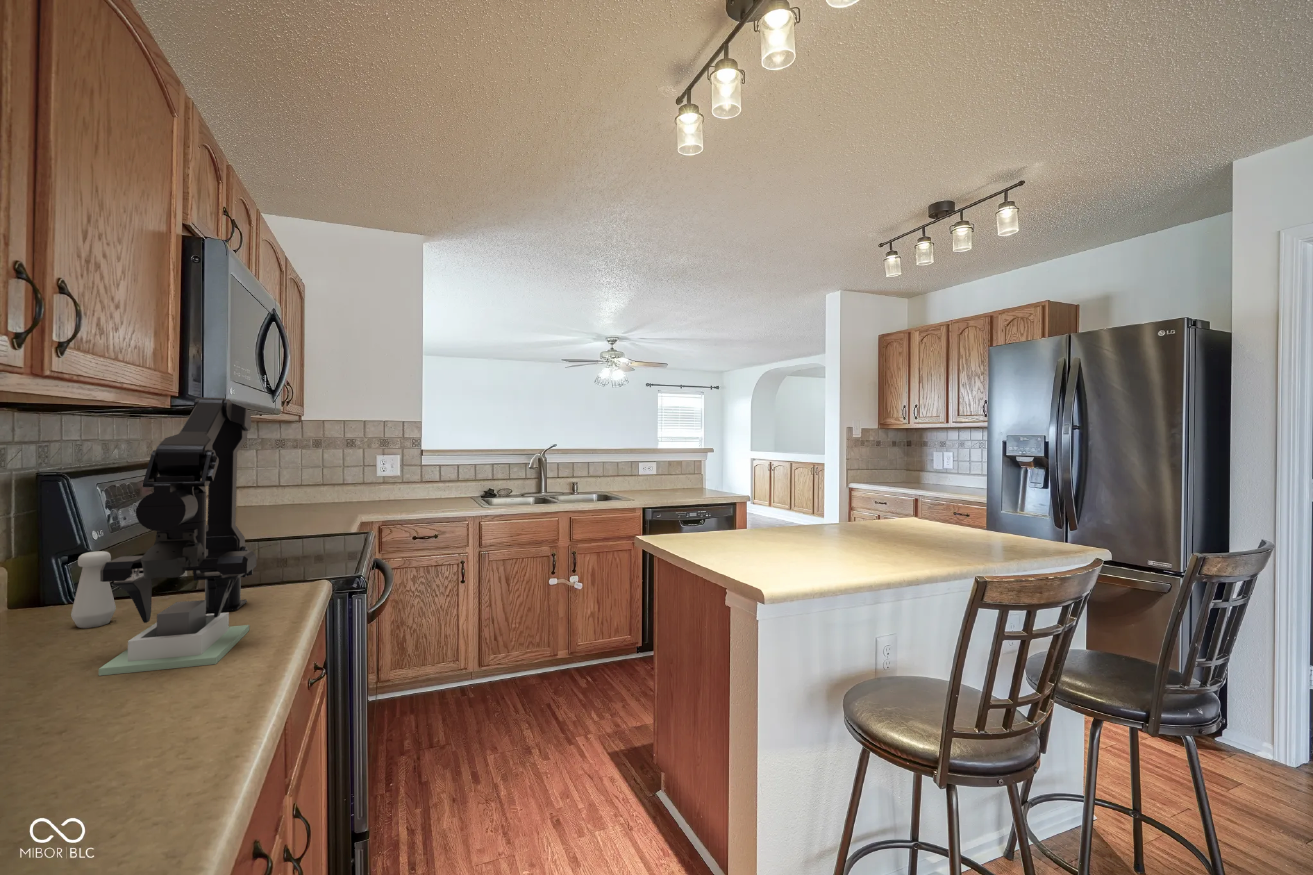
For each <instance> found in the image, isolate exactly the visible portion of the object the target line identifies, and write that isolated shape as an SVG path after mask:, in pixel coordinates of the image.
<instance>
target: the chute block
mask: <svg viewBox="0 0 1313 875" xmlns="http://www.w3.org/2000/svg"><path fill="white" fill-rule="evenodd" d="M206 614H207V612H206V600H205V599H202V600H200V599H199V600H188V601H186V600H185V601H184V600H183V601H176V602H174V603H172V605H169V606H168V607H166V608H165V609H164V610H162V611H160V612H158V613H157V614H156V623H157V637H160V636H172V635H184V634H196V633H197V632H199V631H200V630H201V629H202V628H204V627H205V626H206Z"/></svg>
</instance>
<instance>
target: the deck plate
mask: <svg viewBox="0 0 1313 875" xmlns="http://www.w3.org/2000/svg"><path fill="white" fill-rule="evenodd" d="M229 612H230V611H226V612H221V613H220V615H219V616H218V617H214V613H206V626H205V627H204V628H202V629H201V630H200V631H199V632H197V633H196V634H184V635H172V636H160V637H157V622H155V623H154V624H152V625H150V626H148V627H147V628H146V629H144V630H143V631H141V632H139V633H138V634H136V635H135V636H134V637H132V638H131V639H129V640H127V649H126V650H124V651H123V652H121V653H120V654H119V655H117V656H115V657H114V658H112V659H111V660H109V661H108V662H107V663H105V664H103V665H102V666H101V667H99V668H98V676H99V677H100V676H109V675H110V676H112V675H118V674H129V673H140V672H150V671H158V670H159V671H160V670H161V671H162V670H168V669H169V670H170V669H181V668H188V667H189V668H191V667H201V666H209V665H216V664H218V663H219V662H220V661H221V660H222V659H223V658H224V657H225V656H226V654H228V653H229V652H230V651H231V650H232V649H233V648H234V647H235V646H236V645H237V643H238V642H240V641H241V640H242V639H243V638H244V637H245V635H246V634H247V633H249V631H250V624H244V625H233V626H232V625H231V626H229V623H230V622H229V621H230V619H229V617H230V613H229Z"/></svg>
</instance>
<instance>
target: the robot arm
mask: <svg viewBox="0 0 1313 875" xmlns="http://www.w3.org/2000/svg"><path fill="white" fill-rule="evenodd" d="M193 403H194V404H193V409H192V411H191V413H190V415H189V416H188V418H187V419H186V421H185V423H184V425H183V426H182V428H181V429H180V431H179V432H178V433H177V434H174V435H172V436H167V437H165V438H164V439H162V441H161V442H160V443H159V444H158V445H157V446H156V449H153V450H152V452H151V454H150V457H149V461H148V465H147V468H146V471H145V475H144V479H143V481H142V487H143V488H144V489H145V488H150V489H151V488H152V489H153V492H152V493H149V494H148V495H145V496H144V497H143V498H142V499H141V500H140V501H139V502H138V504H137V506H136V508H135V518H136V520H137V521H138V522H139V524H140V525H141V526H142V527H144V528H145V529H148V530H149V531H150V530H151V531H155V532H156V535H155V541H154V543H153V545H152V546H151V547H149V548H148V549H147V550H146V552H145V553H144V554H143V555H128V556H127V555H126V556H120V557H117V558H114V559H111V561H109V562H106V563H105V564H104V565H103V566H102V568H101V570H100V581H101V582H111V583H110V585H111V586H112V587H119V588H120V589H122V590H124V591H125V592H126V593H127V594H128V595H129V598H131V600H132V602H133V604H134V606H135V608H136V609H137V612H138V614H139V617H140V618H141V620H142V622H143V623H144V624H147V623H149V622H150V620H151V614H152V599H153V598H152V596H153V594H152V591H153V588H152V587H153V586H152V584H153V581H152V580H153V579H155V578H169V579H175V578H180V577H181V576H183V575H184V574H185V573H186V572H190V571H191V572H192V574H193V581H194V582H197V581H204V600H206V613H213V614H214V617H218V616H219V615H220V613H222V612H230V611H237V610H239V609H240V608H241V607H243V606H244V605H245V604H246V603H247V601H248V600H247V599H244V598H243V599H241V598H242V594H241V592H242V590H241V589H242V588H241V586H242V581H241V580H242V578H246V577H249V576H252V575H253V574H254V569H255V568H256V567H257V554H256V553H255V552H254V551H253V550H249V547H248V546H246V538H245V536H244V534H243V533H242V532H241V530H240V529H239V527H238V526H237V524H236V521H237V520H236V519H237V518H236V517H237V483H238V482H237V481H238V480H237V476H238V452H239V451H240V449H241V448H242V447H243V446H244V444H245V442H246V441H247V439H248V433H249V432H250V431H251V428H252V417H251V413H250V412H249V411H248V409H247V407H244V406H242V405H238V404H236V403H232V401H231V400H230V399H227V398H225V397H208V396H206V397H203V396H201V397H199V398H197V397H196V399H194V402H193ZM206 487H207V490H206ZM207 492H208V493H207Z"/></svg>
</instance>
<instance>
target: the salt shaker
mask: <svg viewBox="0 0 1313 875" xmlns="http://www.w3.org/2000/svg"><path fill="white" fill-rule="evenodd" d="M111 560H112V556H111V553H110V552H109V551H106V550H105V551H104V550H102V551H101V550H99V551H89V552H84V553H82V554H80V555H79V556H78V558H77V566H78V567H80V568H82V569H81V573H80V577H79V580H78V581H79V582H78V584H77V589H76V593H75V598H74V601H73V605H72V607H71V608H72V609H71V612H70V616H71V618H72V621H73V622H74V625H75V626H76V627H77V628H81V629H90V628H91V629H92V628H97V627H103V626H104V625H108V624H110V622H111V620H112V617H113V616H114V614H115V612H116V608H117V606H116V603H115V599H114V594H113V590H112V587H111V586H112V585H111V583H110V582H111V581H110V582H101V581H100V570H101V568H102V566H103V565H104V564H105V563H106V562H109V561H111Z"/></svg>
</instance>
